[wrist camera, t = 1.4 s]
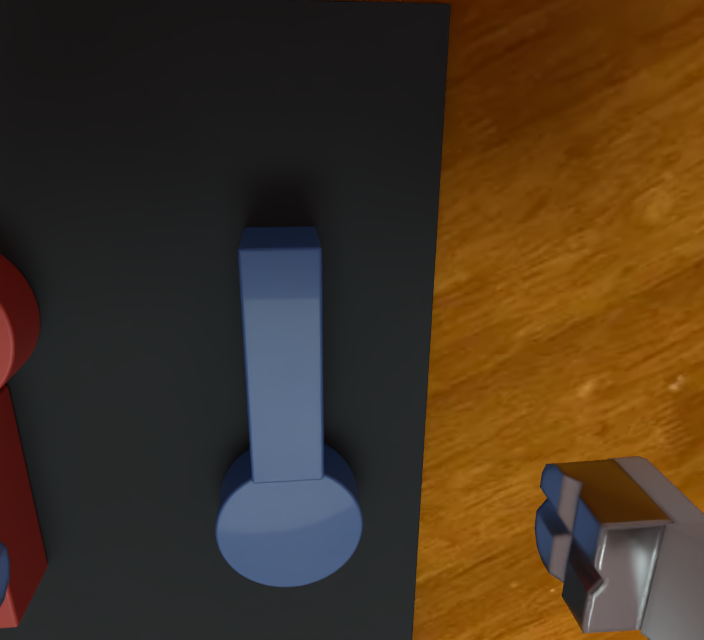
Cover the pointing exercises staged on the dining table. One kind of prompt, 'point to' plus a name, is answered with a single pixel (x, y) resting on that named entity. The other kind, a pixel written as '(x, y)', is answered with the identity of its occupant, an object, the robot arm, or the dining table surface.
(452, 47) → the dining table surface
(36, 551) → the red spoon
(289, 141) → the mat
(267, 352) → the blue spoon
